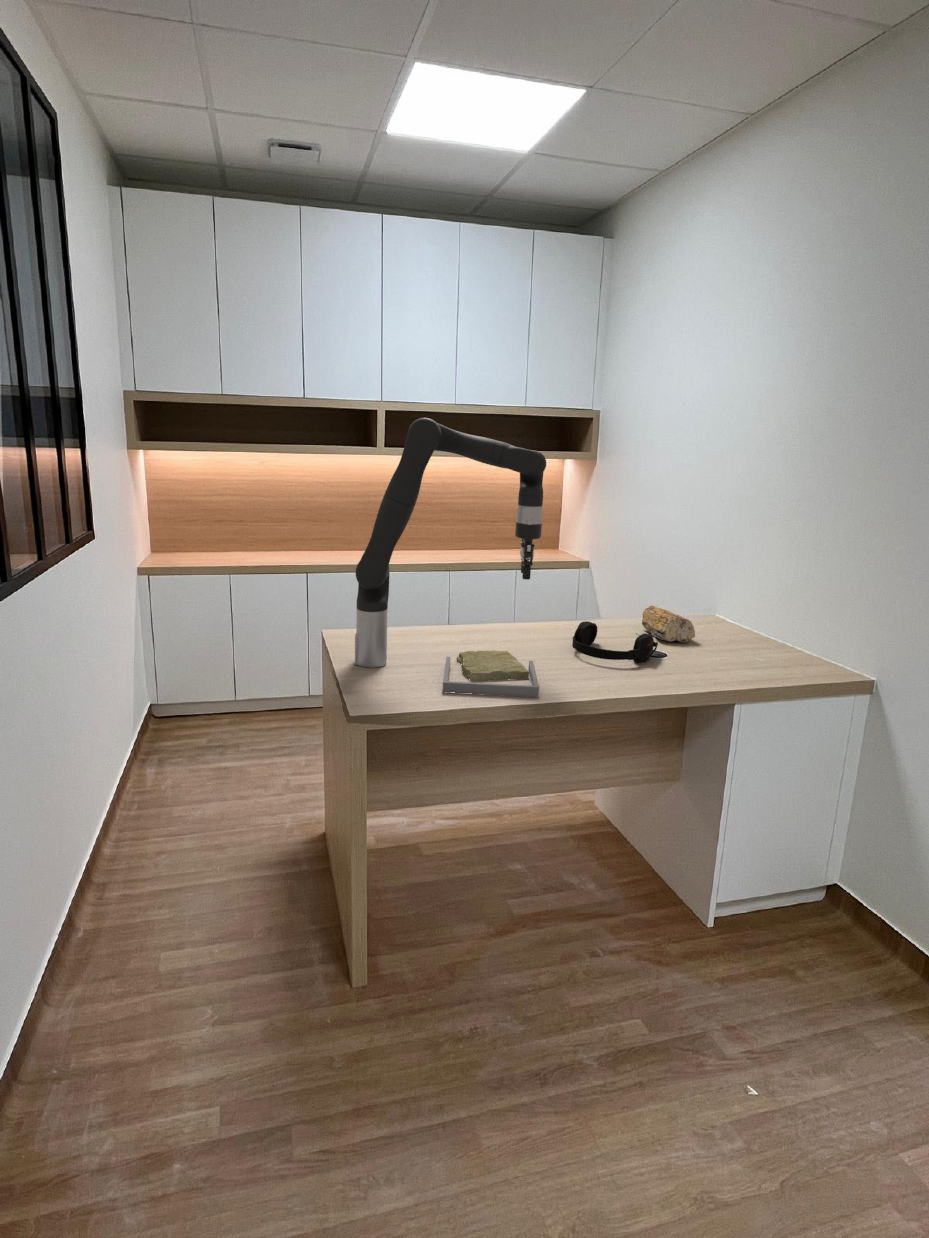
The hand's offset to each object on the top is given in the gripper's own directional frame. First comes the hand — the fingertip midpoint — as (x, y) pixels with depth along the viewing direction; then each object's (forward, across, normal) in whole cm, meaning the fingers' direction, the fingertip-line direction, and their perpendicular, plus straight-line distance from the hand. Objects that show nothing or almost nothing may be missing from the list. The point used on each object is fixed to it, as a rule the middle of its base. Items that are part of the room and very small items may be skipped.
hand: (525, 576), depth 218 cm
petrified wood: (+30, -47, +56) cm, 79 cm away
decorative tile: (+30, 0, -9) cm, 31 cm away
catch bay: (+29, +10, -9) cm, 32 cm away
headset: (+30, -22, +33) cm, 50 cm away
